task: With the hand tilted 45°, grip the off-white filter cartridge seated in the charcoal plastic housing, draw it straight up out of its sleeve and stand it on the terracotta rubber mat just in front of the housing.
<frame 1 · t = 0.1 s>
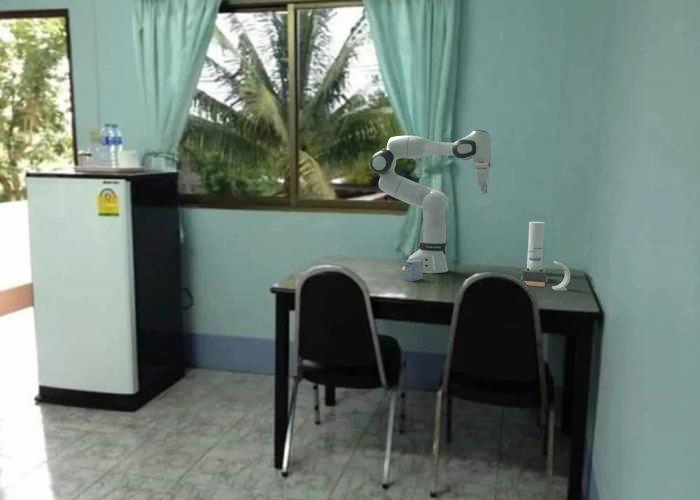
hand: (484, 193, 294), 39 cm above the table, tool pointing down, fingers open, 8 cm apart
cylindrical container: (534, 273, 304), on the table
filter housing: (534, 279, 286), on the table
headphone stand: (560, 289, 265), on the table
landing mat: (534, 284, 275), on the table
filter cartridge: (534, 268, 285), in the filter housing
medicine box: (413, 280, 282), on the table
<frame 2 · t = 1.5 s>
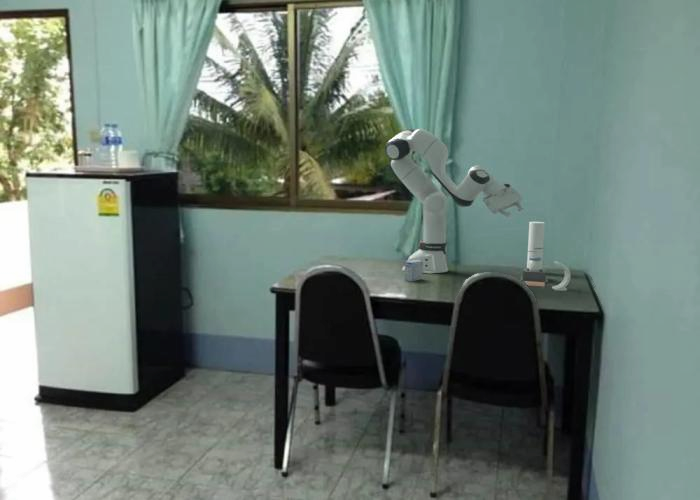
hand: (515, 213, 282), 31 cm above the table, tool tilted 50°, fingers open, 8 cm apart
nothing on the table moved.
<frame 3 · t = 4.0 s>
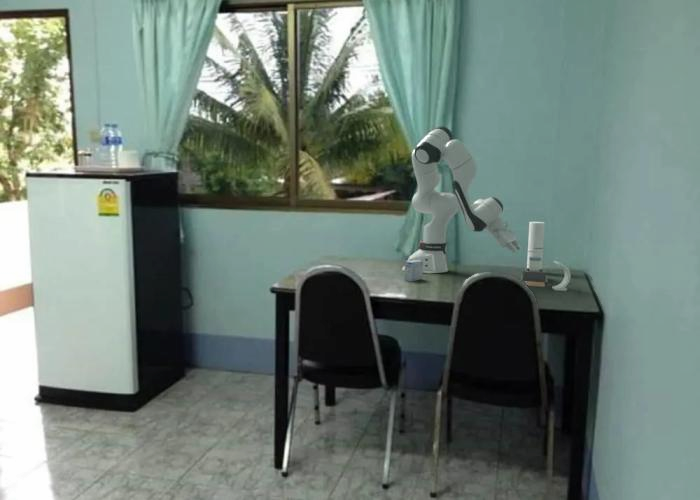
hand: (517, 250, 287), 13 cm above the table, tool tilted 45°, fingers open, 8 cm apart
nothing on the table moved.
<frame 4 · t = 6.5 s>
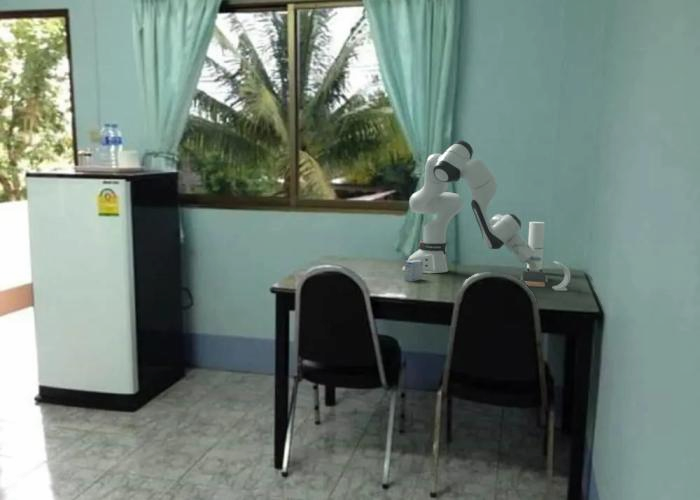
hand: (536, 266, 285), 6 cm above the table, tool tilted 45°, fingers closed on filter cartridge, 5 cm apart
filter cartridge: (534, 268, 285), in the filter housing, touching gripper
everything else where it was.
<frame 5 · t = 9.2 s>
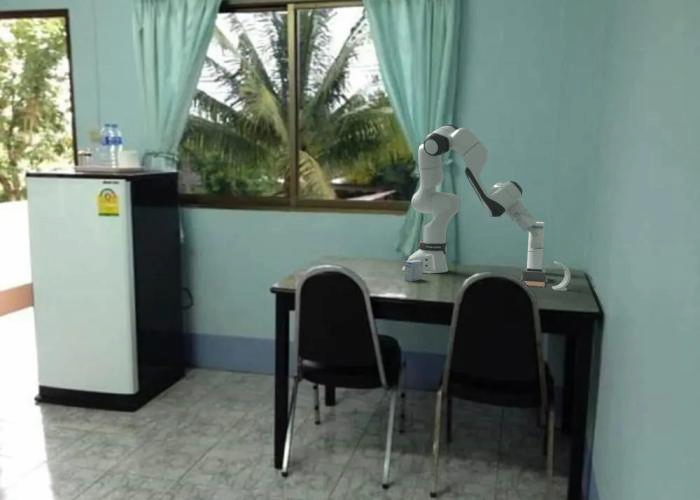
hand: (538, 235, 279), 21 cm above the table, tool tilted 45°, fingers closed on filter cartridge, 5 cm apart
filter cartridge: (536, 236, 279), point 21 cm above the table, touching gripper
everything else where it was.
when the fingers open (8 cm above the table, at t = 11.9 s): filter cartridge drops 2 cm, resting on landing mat.
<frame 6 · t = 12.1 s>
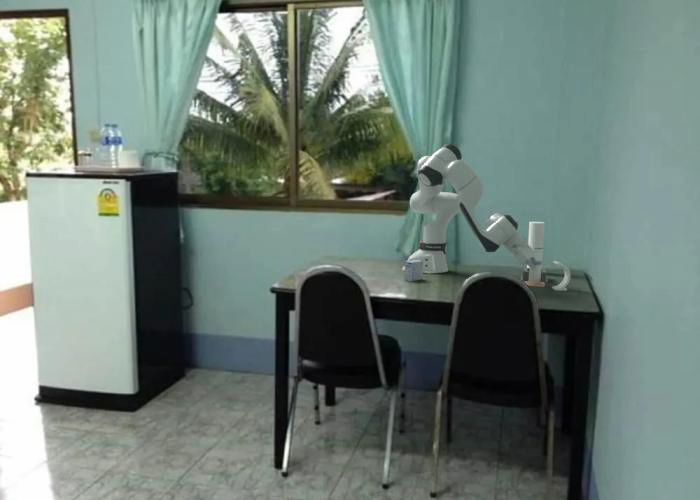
hand: (536, 267, 273), 8 cm above the table, tool tilted 45°, fingers open, 7 cm apart
filter cartridge: (535, 272, 274), on the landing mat
everything else where it was.
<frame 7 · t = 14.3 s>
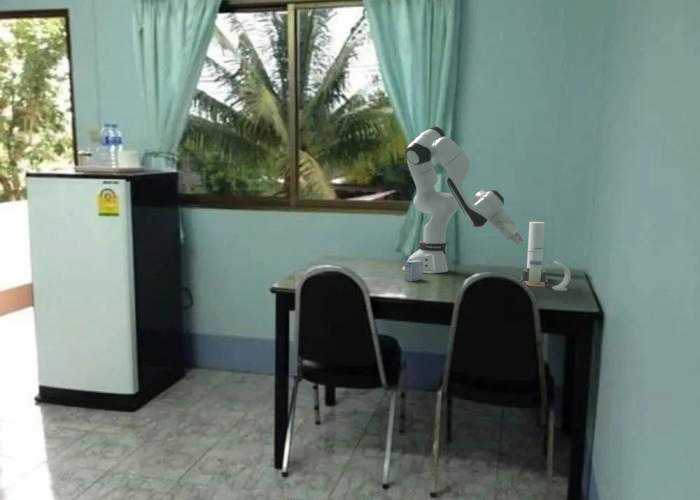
hand: (520, 242, 281), 18 cm above the table, tool tilted 45°, fingers open, 8 cm apart
nothing on the table moved.
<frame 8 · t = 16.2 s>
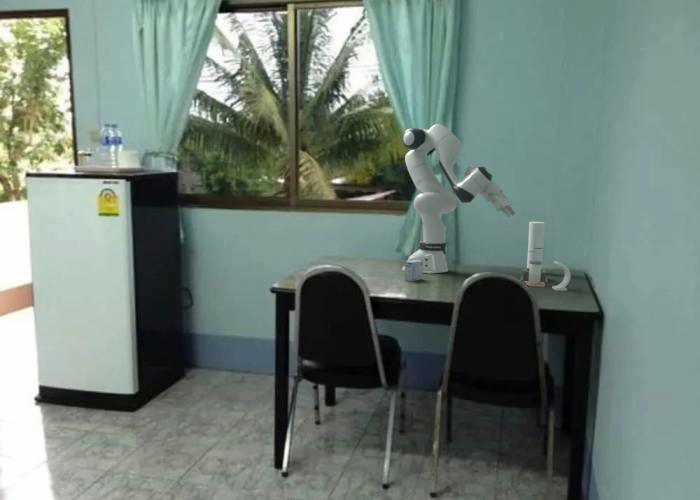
hand: (512, 215, 288), 29 cm above the table, tool tilted 45°, fingers open, 8 cm apart
nothing on the table moved.
at the end: filter cartridge inside the target area on the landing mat (0.1 cm from its centre), point 5.5 cm above the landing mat's base; filter cartridge tilted 1°; the gripper is holding nothing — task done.
